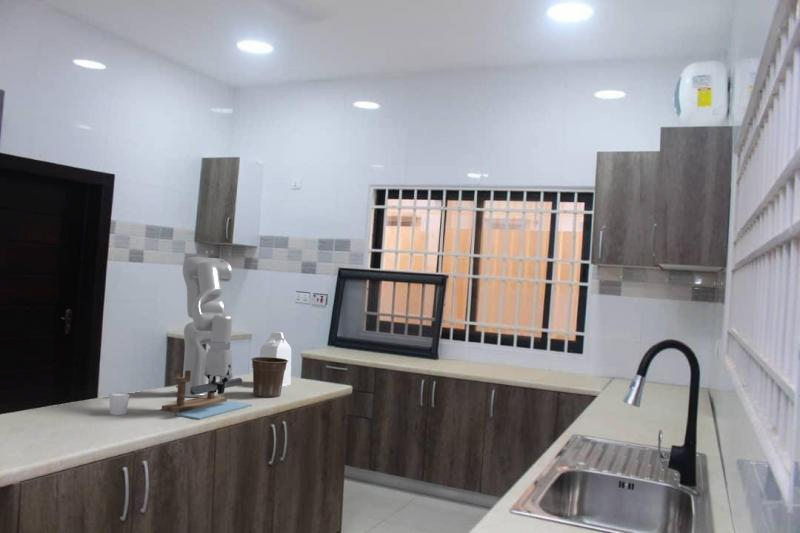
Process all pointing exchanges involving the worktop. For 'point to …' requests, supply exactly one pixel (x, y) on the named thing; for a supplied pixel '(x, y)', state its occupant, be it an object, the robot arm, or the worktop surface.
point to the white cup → (118, 403)
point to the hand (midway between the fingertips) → (217, 392)
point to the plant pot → (268, 376)
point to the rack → (192, 403)
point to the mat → (213, 410)
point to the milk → (278, 353)
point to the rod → (214, 386)
